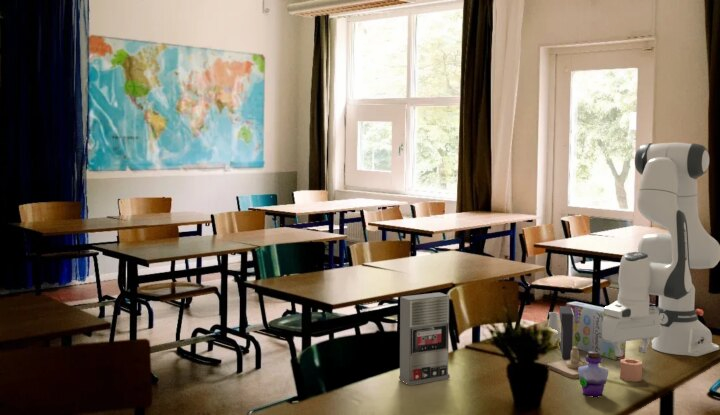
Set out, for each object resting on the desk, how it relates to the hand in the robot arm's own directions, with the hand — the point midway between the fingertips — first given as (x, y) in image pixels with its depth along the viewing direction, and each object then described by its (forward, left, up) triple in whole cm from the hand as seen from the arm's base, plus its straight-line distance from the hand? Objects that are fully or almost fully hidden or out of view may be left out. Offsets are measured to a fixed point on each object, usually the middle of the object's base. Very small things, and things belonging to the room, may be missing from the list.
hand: (630, 354), depth 225 cm
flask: (-7, -42, -8) cm, 44 cm away
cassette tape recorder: (+55, -25, -8) cm, 61 cm away
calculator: (0, -27, -8) cm, 28 cm away
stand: (+9, -13, -7) cm, 18 cm away
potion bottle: (+20, +5, -8) cm, 22 cm away
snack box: (-11, -26, -8) cm, 29 cm away
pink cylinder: (-1, 0, -7) cm, 7 cm away
